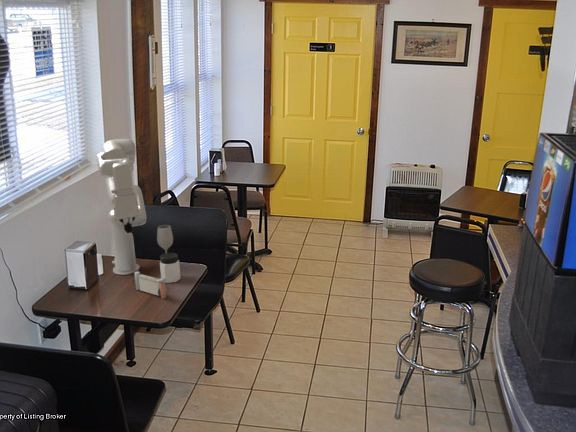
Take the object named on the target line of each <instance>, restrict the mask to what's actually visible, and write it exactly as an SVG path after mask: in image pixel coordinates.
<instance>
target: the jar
mask: <svg viewBox="0 0 576 432" xmlns="http://www.w3.org/2000/svg"><path fill="white" fill-rule="evenodd" d="M159 259H160V261H159V271H160V278H165V279H166V282H165V284H171V283H173V282H174V283H177V282H178V281H179V280H181V266H180V260H179V255H178V254H177V253H176V252H167V253H166V252H165V253H163V254H161V255H160V256H159Z"/></svg>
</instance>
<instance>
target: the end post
mask: <svg viewBox="0 0 576 432" xmlns="http://www.w3.org/2000/svg"><path fill="white" fill-rule="evenodd" d="M157 279H158V281H159V282H160V293H161V296H160V300H166V299H167V298H168V297H167V289H166V288H167V287H166V283H165V282H166V279H165V278H161V277H159V278H157ZM165 298H166V299H165Z"/></svg>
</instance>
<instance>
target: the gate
mask: <svg viewBox="0 0 576 432" xmlns="http://www.w3.org/2000/svg"><path fill="white" fill-rule="evenodd" d="M158 279H159V278H157V277H153V276H149V275H146V274H141V272H140V271H139V270H138V271H137V272H135V273H134V282H135V289H136V291H141V292H145V293H147V294H151V295H155V296H160V297H161V293H160V282H159V281H158Z"/></svg>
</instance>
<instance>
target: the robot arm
mask: <svg viewBox="0 0 576 432" xmlns="http://www.w3.org/2000/svg"><path fill="white" fill-rule="evenodd" d="M136 153H137V151H136V145H135V142H134V141H133V140H132V139H131V138H119V139H110V140H107V141H105V142H104V144H103V146H102V151H101V152H99V153H97V155H96V162H97V168H98V171H99V174H100V175H101V177H102V178H103V179H104V182H105V185H106V186H105V187H106V191H107V192H106V193H107V197H108V202H109V205H110V206H112V208H113V209H111V210H109V212H108V215H107V217H108V218H107V219H108V222H109V226H110V231H111V234H112V235H111V236H112V237H111V238H112V244H113V245H112V246H113V255H114V260H112V261H111V263H112V264H114V267H113V268H112V272H113V273H114V274H115V275H121V276H125V275H131V274H132V275H133V274H135V272H137V271H138V272H139V271H140V265H139V264H137V263H136V262H137V261H136V252H135V243H134V242H135V241H134V236H133V233H132V230H133V227H137V226H138V227H139V226H143V225H145V224H146V223H147V212H146V208H145V201H144V197H143V196H144V195H143V192H142V189H141V188H140V185H139V186H138V185H136V184H133V175H132V174H133V171H134V164H135V161H136Z"/></svg>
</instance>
